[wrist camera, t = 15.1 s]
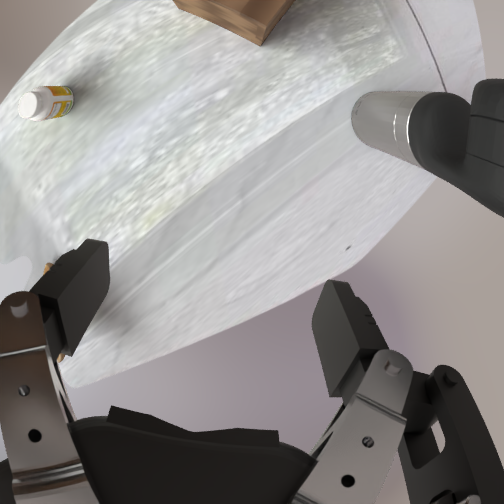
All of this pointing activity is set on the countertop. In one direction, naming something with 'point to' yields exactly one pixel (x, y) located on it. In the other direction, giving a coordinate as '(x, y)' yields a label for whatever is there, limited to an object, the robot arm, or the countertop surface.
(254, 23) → the walnut box
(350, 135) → the countertop surface
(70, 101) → the supplement bottle
